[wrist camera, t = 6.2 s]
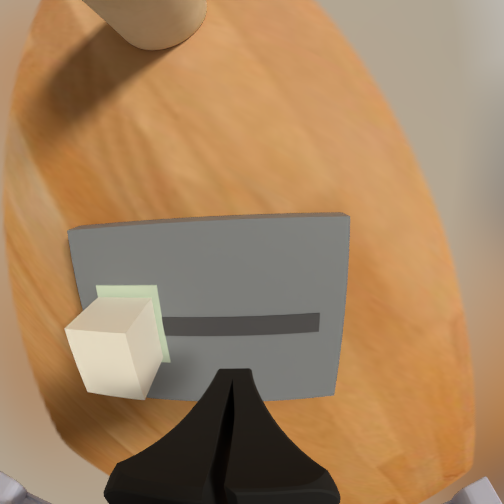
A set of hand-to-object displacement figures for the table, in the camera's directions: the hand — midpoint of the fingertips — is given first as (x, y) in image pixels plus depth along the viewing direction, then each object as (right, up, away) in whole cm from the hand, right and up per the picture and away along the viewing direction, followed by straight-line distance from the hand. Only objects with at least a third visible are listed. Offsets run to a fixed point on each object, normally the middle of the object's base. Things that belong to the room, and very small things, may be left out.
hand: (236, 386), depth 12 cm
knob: (-6, +1, +5) cm, 8 cm away
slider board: (-2, +2, +6) cm, 7 cm away
